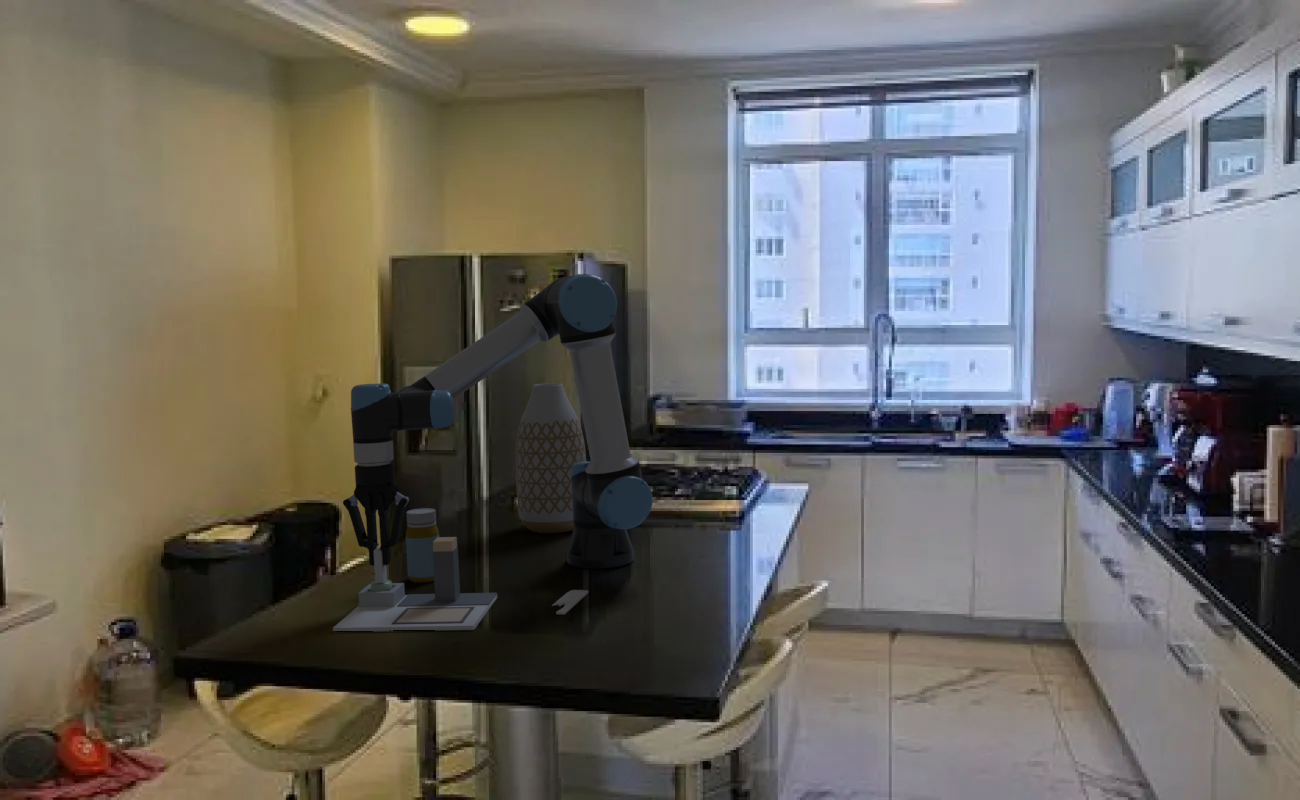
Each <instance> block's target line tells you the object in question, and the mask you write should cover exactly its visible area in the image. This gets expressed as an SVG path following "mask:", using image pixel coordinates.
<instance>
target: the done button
mask: <svg viewBox="0 0 1300 800" xmlns="http://www.w3.org/2000/svg"><path fill="white" fill-rule="evenodd" d="M392 583H393V581H392V580H390V579H387V580H386V581H384V582H383V583H375V580H374V581H372V582H371V583H370V584H371V591H390V590H391V589H392Z"/></svg>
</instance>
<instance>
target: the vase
mask: <svg viewBox="0 0 1300 800" xmlns="http://www.w3.org/2000/svg"><path fill="white" fill-rule="evenodd" d="M580 423H581V422H580V420H579V418H578V415H577V414H576V412H575V410H574V408H573V405H572V404H571V402H570V401H569V398H568V396H567V394H566V391H565V389H564V385H563V384H562V383H553V382H552V383H537V384H533V385H532V390H531V393H530V396H529V400H528V402H527V405H526V407H525V409H524V411H523V414H522V416H521V419H520V423H519V426H518V430H517V434H516V435H517V437H516V445H515V484H516V485H515V487H516V504H517V511H518V517H519V519H520V521H521V523H522V524H523V526H525V528H527V529H528V530H529V531H531V532H533V533H536V532H537V533H539V534H561V533H562V532H563V533H567V532H571V531H572V532H573V529H574V521H573V499H572V480H571V476H572V466H573V465H574V464H575V463H580V462H587V455H586V445H585V439H584V434H583V430H582V426H581V424H580Z"/></svg>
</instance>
